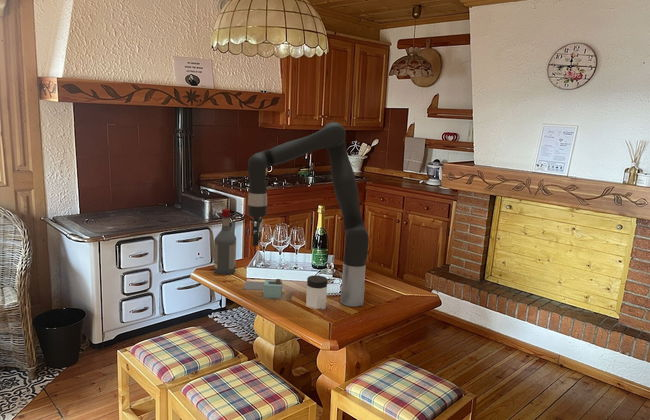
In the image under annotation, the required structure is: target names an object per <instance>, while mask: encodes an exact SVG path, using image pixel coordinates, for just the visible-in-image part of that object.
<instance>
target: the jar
mask: <svg viewBox="0 0 650 420" xmlns="http://www.w3.org/2000/svg"><path fill="white" fill-rule="evenodd" d="M306 281H307V282H306V298H305V305H306V307H308V308H311V309H315V310H319V309H321V310H326V308H327V293H328V278H327V277H325V276H323V275H318V274H317V275H316V274H315V275H314V274H313V275H309V276H308V277H307V278H306Z"/></svg>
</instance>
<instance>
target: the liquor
mask: <svg viewBox="0 0 650 420" xmlns="http://www.w3.org/2000/svg"><path fill="white" fill-rule="evenodd" d="M230 218H231V209H229V208H223V209H221V220H222V221H221V223H222V224H221V230H220V231H219V232H218V233H217V235H216V236H215V238H214V239H213V240H214V245H213V246H214V247H213V248H214V249H213V254H214V255H213V271H214V273H215V274H216V275H219V276H220V275H223V276H230V275H233V274H234V272H235V270H236V263H237V262H236V260H237V236H236V235H235V234H234V233H233V232H232V230H231V227H230Z"/></svg>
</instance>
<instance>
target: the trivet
mask: <svg viewBox="0 0 650 420" xmlns="http://www.w3.org/2000/svg"><path fill="white" fill-rule="evenodd" d="M264 283H265V281H251V280H250V281H249V280H247V281H245V283H244V285H243V286H244V287H243V290H250V291H264Z"/></svg>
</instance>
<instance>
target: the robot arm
mask: <svg viewBox="0 0 650 420" xmlns="http://www.w3.org/2000/svg"><path fill="white" fill-rule="evenodd" d="M346 137H347V133H346V129H345V127H344V126H343V125H342V124H340V123H339V122H337V121H332V122H328V123H327V124H325V125H324V127H323V128H321V129H319V130H318V131H316V132H314V133H311V134H309V135H307V136H304V137H301V138H297V139H294V140H290V141H286V142H284V143H281V144H279V145H276V146H273V147H272V148H270V149H266V150H263V151H260V152H256V153H253V155H251V156H250V157H249V159H248V163H247V169H248V181H249V182H248V197H247V198H248V199H247V215H248V216H249V217H253V218H252V220H251V237H252V246H253V247H258V246H259V243H260V240H261V239H262V231H263V221H264V219H263V217H266V216H267V214H268V193H267V192H268V191H267V189H268V188H267V187H268V186H267V185H268V182H267V177H266V175H267V169H268V168H271V167H274V166H276V165H281V164H285V163H287V162H290V161H292V160H295V159H297V158H299V157H303V156H304V155H306V154H309V153H312V152H316V151H319V150H323V149H326V150H327V153H328V157H329V162H330V173H331V180H332V181H331V182H332V185H333V186H332V187H333V189H334V194H335V198H336V200H337V204H338V206H339V208H340V210H341V214H342V218H343V226H344V237H345V241H344V255H343V264H342V276H341V277H342V278H341V292H340V303H341V305H344V306H346V307H351V308H352V307H355V308H357V307H360V306H361V307H362V306H364V298H365V290H366V289H365V286H366V283H365V277H366V267H367V266H366V265H367V258H368V253H369V252H368V251H369V241H370V240H369V238H370V237H369V234H368V230H367V229H366V226H365V222H364V220H363V218H362V213H361V210H360V197H359V188H358V185H357V180H356V175H355V172H354V169H353V166H352V164H351V161H350V158H349V155H348V150H347V149H348V148H347V142H346Z"/></svg>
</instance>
